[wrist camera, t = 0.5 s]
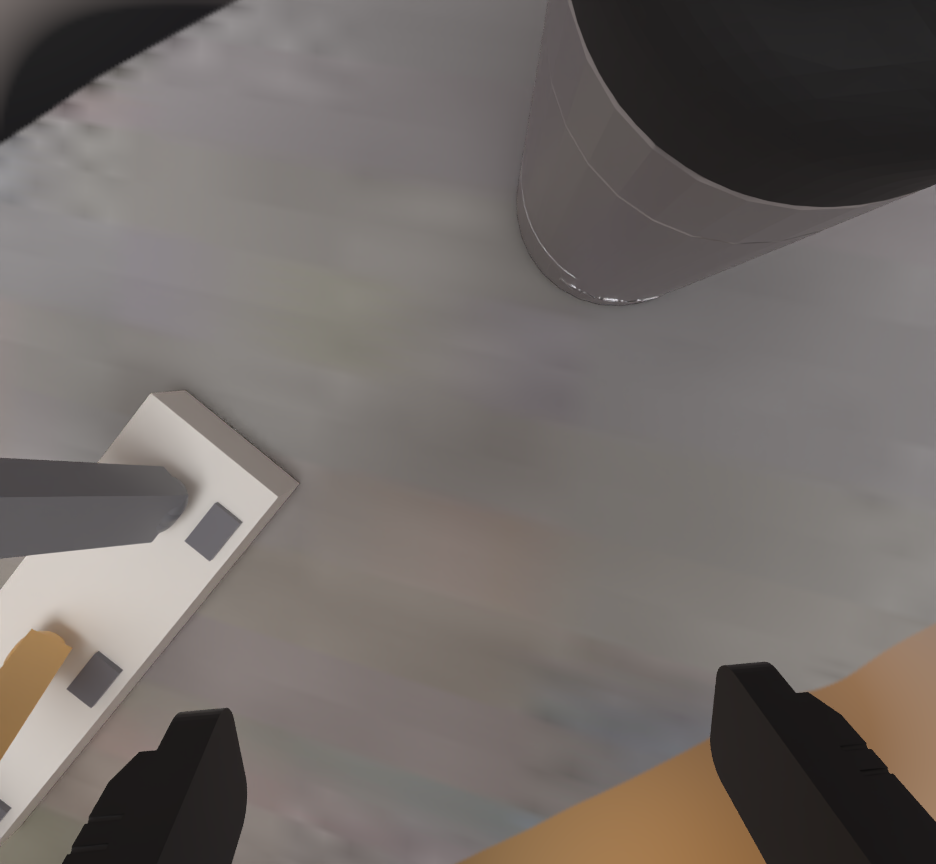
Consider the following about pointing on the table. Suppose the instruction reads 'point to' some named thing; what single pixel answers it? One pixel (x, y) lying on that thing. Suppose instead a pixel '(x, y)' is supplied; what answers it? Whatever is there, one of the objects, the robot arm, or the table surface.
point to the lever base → (130, 587)
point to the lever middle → (27, 679)
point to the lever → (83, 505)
